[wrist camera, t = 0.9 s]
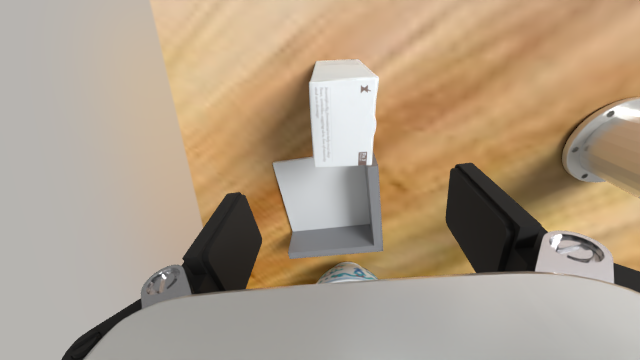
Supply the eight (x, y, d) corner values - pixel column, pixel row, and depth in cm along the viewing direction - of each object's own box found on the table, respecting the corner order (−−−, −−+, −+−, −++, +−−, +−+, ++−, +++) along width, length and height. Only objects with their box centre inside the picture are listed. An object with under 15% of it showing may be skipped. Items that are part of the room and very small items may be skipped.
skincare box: (315, 60, 32) (303, 74, 19) (361, 58, 31) (380, 71, 19) (318, 123, 36) (310, 169, 23) (359, 121, 36) (374, 168, 23)
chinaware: (376, 241, 47) (383, 274, 41) (387, 289, 54) (395, 324, 48) (303, 253, 50) (299, 286, 43) (323, 298, 57) (322, 332, 50)
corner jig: (372, 148, 38) (378, 165, 32) (377, 226, 45) (383, 251, 40) (273, 161, 40) (264, 180, 34) (294, 234, 47) (289, 258, 42)
